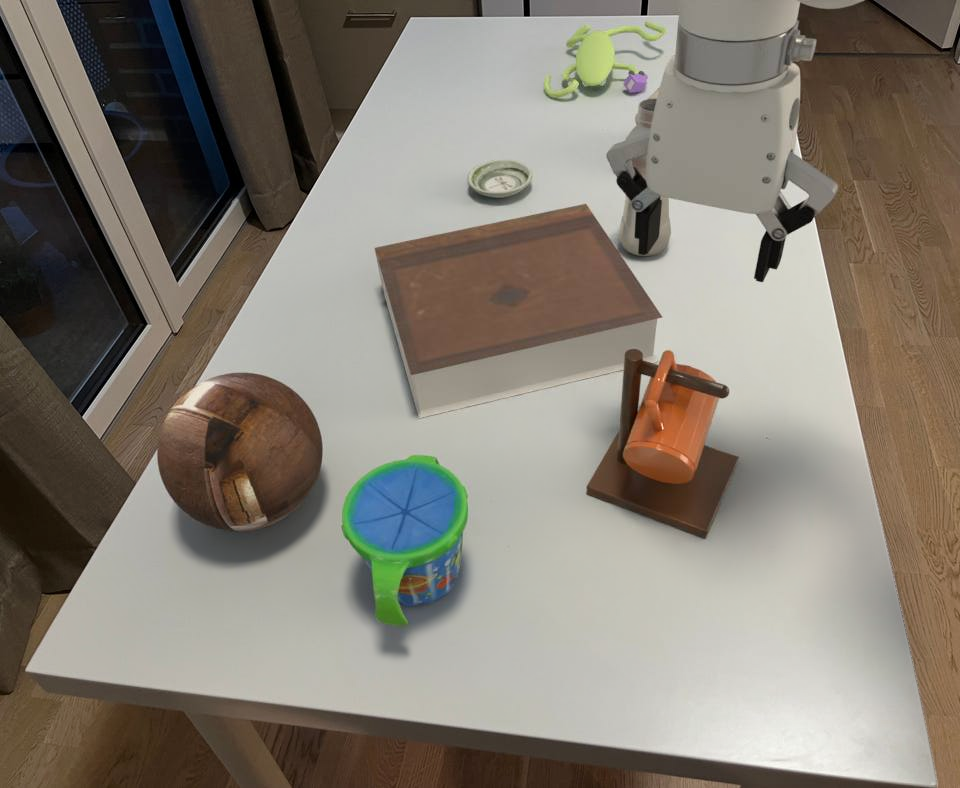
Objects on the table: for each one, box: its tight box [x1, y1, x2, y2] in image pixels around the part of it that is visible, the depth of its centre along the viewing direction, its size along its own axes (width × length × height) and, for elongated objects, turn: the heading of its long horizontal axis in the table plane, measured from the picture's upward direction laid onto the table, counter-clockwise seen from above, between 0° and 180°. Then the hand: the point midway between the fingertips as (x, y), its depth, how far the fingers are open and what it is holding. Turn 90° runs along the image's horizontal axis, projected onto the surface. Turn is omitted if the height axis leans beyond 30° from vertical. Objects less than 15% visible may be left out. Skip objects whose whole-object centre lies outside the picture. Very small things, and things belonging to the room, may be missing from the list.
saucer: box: [467, 158, 533, 199], centre depth 119 cm, size 10×10×2 cm
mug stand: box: [586, 349, 740, 539], centre depth 73 cm, size 12×10×15 cm
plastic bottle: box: [618, 98, 672, 257], centre depth 99 cm, size 6×7×20 cm
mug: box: [623, 349, 720, 484], centre depth 72 cm, size 11×6×9 cm
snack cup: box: [341, 454, 469, 627], centre depth 70 cm, size 16×10×10 cm
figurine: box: [543, 20, 667, 99], centre depth 144 cm, size 18×27×6 cm
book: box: [374, 203, 663, 419], centre depth 95 cm, size 24×28×6 cm
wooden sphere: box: [156, 372, 324, 532], centre depth 76 cm, size 15×15×15 cm
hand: (704, 258), depth 66 cm, fingers open, 9 cm apart
